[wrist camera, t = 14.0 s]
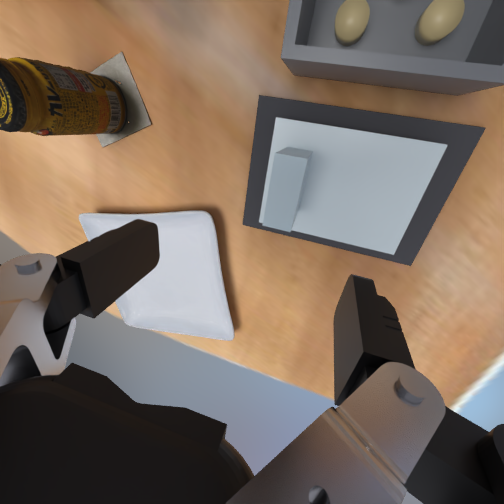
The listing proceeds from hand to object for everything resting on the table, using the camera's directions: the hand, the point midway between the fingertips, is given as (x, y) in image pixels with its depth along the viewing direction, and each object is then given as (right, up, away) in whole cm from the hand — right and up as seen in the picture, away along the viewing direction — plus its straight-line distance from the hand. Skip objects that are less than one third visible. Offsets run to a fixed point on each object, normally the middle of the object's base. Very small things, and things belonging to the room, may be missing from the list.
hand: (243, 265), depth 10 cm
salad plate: (-13, -2, +29) cm, 32 cm away
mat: (+10, +8, +16) cm, 21 cm away
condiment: (-16, +18, +20) cm, 31 cm away
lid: (+9, +8, +16) cm, 20 cm away
